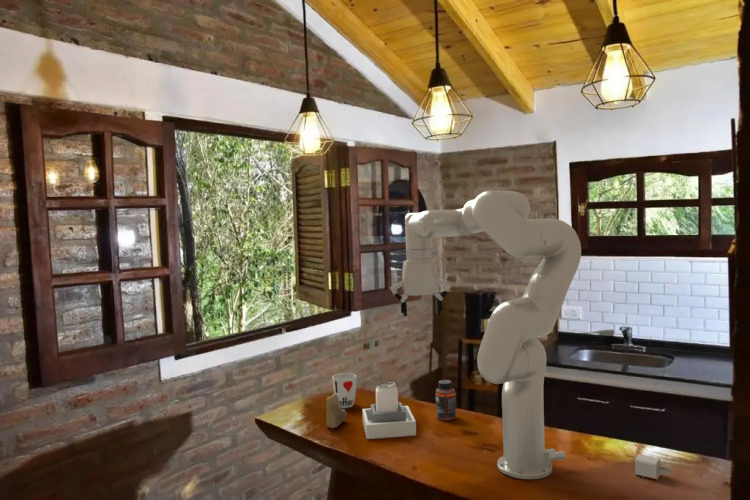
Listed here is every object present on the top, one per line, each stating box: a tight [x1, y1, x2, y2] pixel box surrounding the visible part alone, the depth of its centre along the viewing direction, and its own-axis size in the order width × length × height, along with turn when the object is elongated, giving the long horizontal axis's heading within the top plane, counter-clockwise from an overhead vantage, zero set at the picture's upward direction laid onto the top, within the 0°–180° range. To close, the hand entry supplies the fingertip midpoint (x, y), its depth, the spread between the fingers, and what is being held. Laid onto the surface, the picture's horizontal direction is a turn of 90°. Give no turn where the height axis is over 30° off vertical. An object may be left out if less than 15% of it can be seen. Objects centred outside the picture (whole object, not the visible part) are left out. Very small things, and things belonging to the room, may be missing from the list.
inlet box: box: [362, 401, 417, 440], centre depth 160 cm, size 14×14×6 cm
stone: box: [326, 393, 348, 429], centre depth 164 cm, size 9×5×10 cm, turn 155°
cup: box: [331, 372, 357, 409], centre depth 182 cm, size 8×8×10 cm
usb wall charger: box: [634, 453, 673, 478], centre depth 123 cm, size 4×7×4 cm, turn 51°
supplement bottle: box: [435, 379, 457, 422], centre depth 166 cm, size 6×6×11 cm
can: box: [375, 381, 399, 413], centre depth 159 cm, size 6×6×12 cm
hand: (421, 314), depth 157 cm, fingers open, 9 cm apart
